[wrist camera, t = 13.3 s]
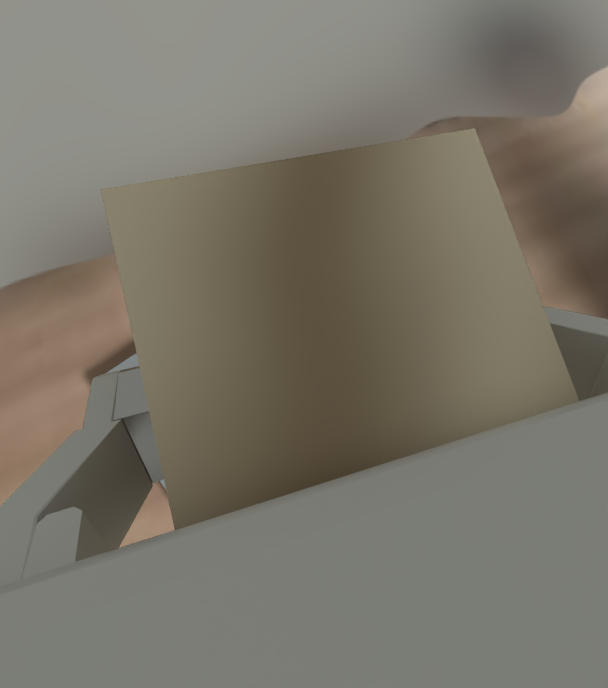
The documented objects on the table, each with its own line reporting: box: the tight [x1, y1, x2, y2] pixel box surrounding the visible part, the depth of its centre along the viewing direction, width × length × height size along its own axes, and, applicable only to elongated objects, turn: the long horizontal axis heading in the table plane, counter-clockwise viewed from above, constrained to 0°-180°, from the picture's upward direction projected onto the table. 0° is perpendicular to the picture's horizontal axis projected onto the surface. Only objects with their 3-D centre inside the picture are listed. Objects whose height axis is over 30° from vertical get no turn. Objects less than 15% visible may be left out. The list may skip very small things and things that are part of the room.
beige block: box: [101, 128, 579, 530], centre depth 10 cm, size 6×6×8 cm
